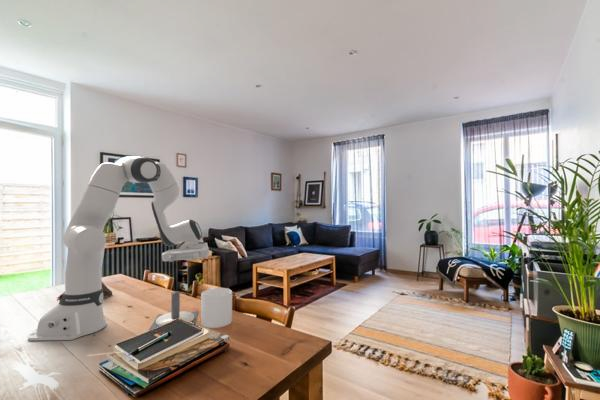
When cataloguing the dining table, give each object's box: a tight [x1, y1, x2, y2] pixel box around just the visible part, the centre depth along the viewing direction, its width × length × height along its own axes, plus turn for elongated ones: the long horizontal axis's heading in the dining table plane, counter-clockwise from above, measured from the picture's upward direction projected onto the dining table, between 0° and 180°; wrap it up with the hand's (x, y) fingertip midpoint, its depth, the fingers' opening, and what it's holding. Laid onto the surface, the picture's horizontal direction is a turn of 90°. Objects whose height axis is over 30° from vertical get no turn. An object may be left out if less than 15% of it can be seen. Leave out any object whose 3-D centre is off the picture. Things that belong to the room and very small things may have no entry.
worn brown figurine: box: [102, 281, 113, 299], centre depth 146 cm, size 12×6×18 cm, turn 153°
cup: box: [200, 287, 233, 329], centre depth 117 cm, size 12×12×12 cm
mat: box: [147, 310, 199, 332], centre depth 118 cm, size 16×16×1 cm
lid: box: [155, 290, 194, 326], centre depth 118 cm, size 14×14×11 cm
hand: (182, 258), depth 129 cm, fingers open, 8 cm apart
